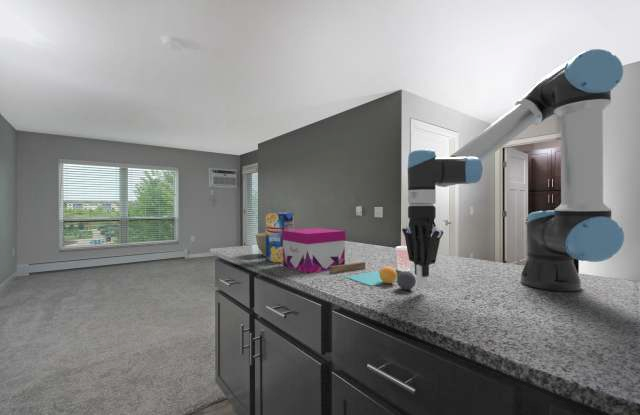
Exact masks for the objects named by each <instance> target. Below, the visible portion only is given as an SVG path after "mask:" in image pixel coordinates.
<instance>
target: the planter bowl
mask: <svg viewBox="0 0 640 415" xmlns="http://www.w3.org/2000/svg"><path fill="white" fill-rule="evenodd" d="M255 239H256V244H257V248H258V249H259V250H260V252H261V254H262V256H264V257H266V232H259V233H256V234H255Z"/></svg>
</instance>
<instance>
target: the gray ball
mask: <svg viewBox="0 0 640 415" xmlns="http://www.w3.org/2000/svg"><path fill="white" fill-rule="evenodd" d="M396 283H397V285H398V287H399V288H401V289H402V290H405V291H409V290H412V289H413V288H414V287H415V286H416V284H417V278H416V275H415V274H413V273H412V272H411V271H400V272H399V273H398V274H397V281H396Z"/></svg>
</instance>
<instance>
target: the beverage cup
mask: <svg viewBox="0 0 640 415" xmlns="http://www.w3.org/2000/svg"><path fill="white" fill-rule="evenodd" d="M395 250H396V260H397V261H396V262H397V271H399V272H403V271H408V272H411V261H410V260H409V256H408V251H407V246H406V245H405V235H404V233H402V245H398V246H395Z"/></svg>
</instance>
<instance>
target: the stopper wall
mask: <svg viewBox="0 0 640 415" xmlns="http://www.w3.org/2000/svg"><path fill="white" fill-rule="evenodd" d="M365 269H366V262H365V261H362V262H361V261H360V262H351V263H347V264H345V265H337V266H330V270H329V273H330V274H331V275H332V274H340V273H347V272H352V271H353V272H354V271H359V270H365Z"/></svg>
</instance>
